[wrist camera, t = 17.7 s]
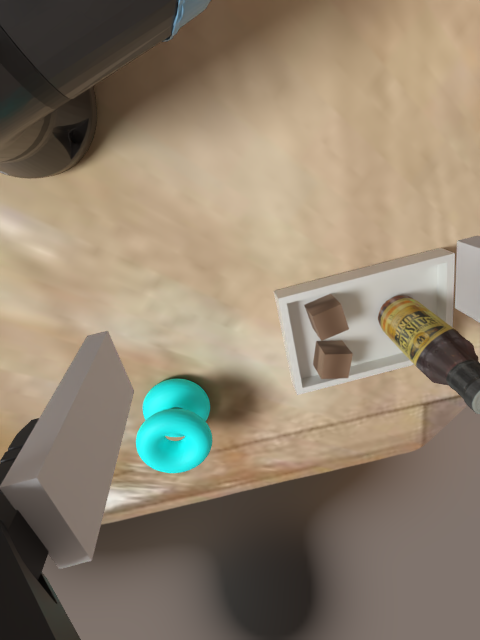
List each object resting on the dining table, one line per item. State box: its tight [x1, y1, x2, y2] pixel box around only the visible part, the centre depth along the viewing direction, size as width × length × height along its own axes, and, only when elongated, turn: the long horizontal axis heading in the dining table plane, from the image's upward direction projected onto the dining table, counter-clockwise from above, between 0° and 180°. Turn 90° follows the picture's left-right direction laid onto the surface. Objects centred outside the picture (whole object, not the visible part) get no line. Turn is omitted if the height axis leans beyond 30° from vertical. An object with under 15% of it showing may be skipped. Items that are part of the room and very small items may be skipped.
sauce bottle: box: [378, 295, 480, 414], centre depth 44 cm, size 6×6×20 cm
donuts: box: [136, 379, 212, 473], centre depth 52 cm, size 10×10×10 cm
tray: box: [274, 248, 455, 395], centre depth 53 cm, size 24×16×3 cm, turn 103°
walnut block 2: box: [313, 340, 353, 379], centre depth 53 cm, size 4×4×4 cm
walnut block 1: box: [304, 294, 349, 341], centre depth 50 cm, size 4×4×4 cm
